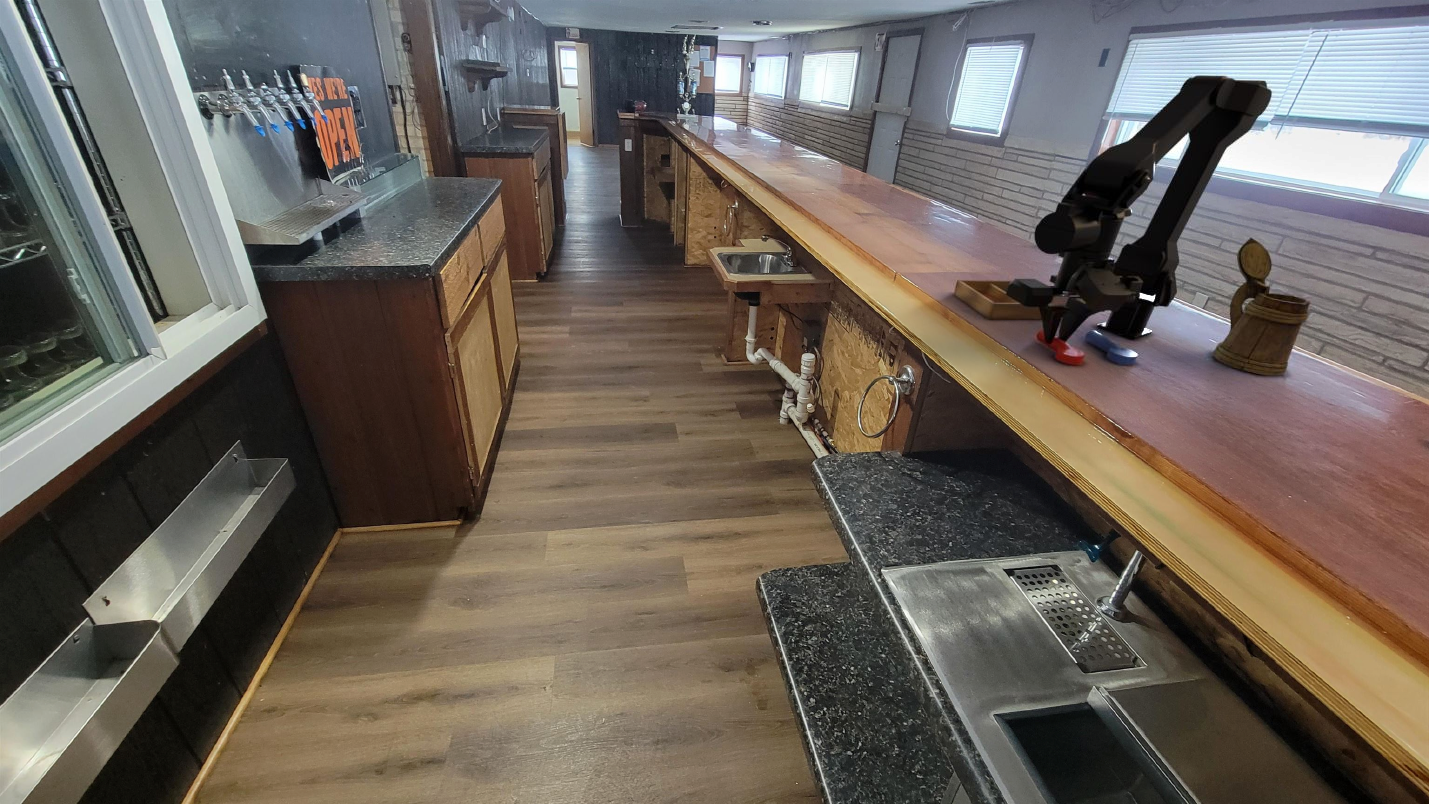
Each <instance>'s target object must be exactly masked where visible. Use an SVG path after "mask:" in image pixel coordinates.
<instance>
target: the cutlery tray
mask: <svg viewBox="0 0 1429 804" xmlns="http://www.w3.org/2000/svg"><path fill="white" fill-rule="evenodd" d="M1012 281H1013V280H1010V279H1009V280H1007V279H1006V280H1005V279H1004V280H1001V279H999V280H998V279H997V280H995V279H994V280H993V279H992V280H991V279H989V280H988V279H985V280H984V279H956V284H955V287H954V291H953V295H954V296H955V297H957V298H958V299H960V300H961V301H962V302H964V303H965V304H967V305H968V306H969V307H971V308H972V309H974V310H975V311H976V312H977V313H979V314H981V315H982V316H983V317H985V318H986V319H987V320H1042V319H1041V315H1040V311H1039V307H1027V306H1023V305H1022V304H1020V303H1018V302H1017V301H1015V300H1013V299H1012V298H1010V297H1009V296H1007V295H1006V292H1007V288H1008V285H1009V284H1010V282H1012Z"/></svg>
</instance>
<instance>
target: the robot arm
mask: <svg viewBox="0 0 1429 804" xmlns="http://www.w3.org/2000/svg"><path fill="white" fill-rule="evenodd" d="M1272 93H1273V91H1272V89H1271V88H1268V83H1267V81H1266V80H1255V79H1235V78H1233V77H1229V76H1227V75H1199V74H1198V75H1195V76H1193V77H1189V78H1187V79H1186V80H1185V81H1184V82H1183V83H1182V86H1181V87H1180V90H1179V92H1177V94H1176V95H1175V96H1174V97H1173V98H1172V99H1170V101H1168V102H1167V103H1166V104H1165V106H1163V107H1162V108H1161V109H1160V110H1158V112H1157V113H1156V114H1155V115H1154V116H1153V117H1152V118H1151V119H1150V120H1149V121H1148V122H1147V123H1146V124H1144V126H1143V127H1142V128H1141V129H1139V130H1138V131H1137V132H1136V133H1135V134H1134V135H1133V136H1132V137H1131V138H1129V139H1128V140H1126V141H1124V142H1121V143H1118V144H1116V145H1115V144H1114V145H1113V146H1110V147H1108V148H1106V149H1105V150H1104V151H1103V152H1102V153H1100V154H1099V155H1097V156H1096V157H1095V158H1093V159H1092V160H1091V161H1090V163H1089V164H1087V166H1086V167H1085V168H1084V169H1083V171H1082V172H1081V173H1080V175H1079V176H1078V177H1077V179H1076V180H1075V181H1074V183H1073V184H1072V185H1071V187H1070V188H1069V190H1068V191H1066V194H1065V195H1064V196H1063V197H1062V199H1061V200H1060V202H1058V203H1057V205H1056V207H1055V211H1053V212H1051V213H1048V214H1046V215H1045V216H1043V218H1042V219H1040V221H1039V223H1038V224H1037V225H1036V226H1035V229H1034V233H1033V234H1034V235H1033V236H1034V242H1035V245H1036V247H1037V248H1038V249H1039V250H1040V251H1041V252H1042V253H1044V254H1047V255H1057V254H1058V255H1057V256H1058V257H1060V258H1062V260H1061V263H1060V267H1059V269H1058V272H1057V274H1051V275H1050V278H1049V282H1050V283H1052V284H1054V285H1048V284H1045V283H1044V282H1042V281H1040V280H1038V279H1036V278H1014V279H1013V280H1011V281H1012V282H1010V284H1009V285H1008V288H1007V292H1006V295H1007V296H1009V297H1010V298H1012V299H1013V300H1015V301H1017V302H1018V303H1020V304H1022V305H1023V306H1027V307H1039V311H1040V315H1041V319H1040V320H1041V324H1042V325H1041V326H1042V330H1043V332H1044V339H1045V342H1046V343H1047V344H1051V343H1052V341H1053V339H1054V337H1055V336H1057V331H1058V337H1057V338H1059V339H1061V340H1062V341H1064V342H1065V343H1067V341H1068V340H1070V338H1071V337H1072V335H1074V333H1075V332H1076V331H1077V330H1078V329H1079V328H1080V326H1081V325H1082V324H1084V322H1085V321H1086V320H1087V319H1088V318H1090V317H1091V316H1093V315H1096V314H1098V313H1104V312H1106V311H1107V312H1108V311H1109V312H1110V314H1109V316H1108V319H1107V320H1106V321H1103V322H1099V323H1097V325H1096V328H1099V329H1102V330H1105V331H1108V332H1111V333H1114V334H1117V335H1120V336H1123V337H1125V338H1129V339H1132V340H1135V339H1139V338H1141V337H1145V336H1147V335H1150V334H1153V333H1152V332H1153V330H1151V329H1148V328H1147V325H1148V323H1149V320H1150V318H1151V316H1152V314H1153V312H1154V309H1155V308H1159V307H1164V308H1168V307H1169V306H1170V304H1171V303H1172V301H1174V299H1175V297H1176V295H1177V294H1178V293H1177V292H1178V286H1177V278H1176V277H1177V276H1176V271H1177V268H1178V266H1179V265H1180V256H1179V249H1178V242H1179V239H1180V238H1181V236H1182V234H1183V232H1184V230H1185V228H1186V226H1187V224H1188V222H1189V220H1190V218H1191V217H1192V215H1193V212H1194V211H1195V209H1196V207H1197V205H1198V203H1199V201H1200V199H1201V197H1202V196H1203V194H1204V192H1205V190H1206V188H1207V187H1208V185H1209V182H1210V180H1211V179H1212V177H1213V175H1214V174H1215V171H1216V169H1217V167H1218V165H1219V163H1220V161H1221V159H1222V158H1223V156H1224V154H1225V152H1226V150H1227V149H1228V148H1229V147H1231V145H1233V144H1234V143H1236V142H1237V141H1238V140H1239V139H1241V138H1242V137H1244V135H1246V134H1247V133H1249V132H1250V131H1251V130H1252V128H1253V126H1254V125H1255V123H1256V121H1257V119H1258V118H1259V117H1260V116H1261V115H1263V114H1264V112H1265V111H1266V110H1267V108H1268V106H1269V105H1270V103H1271V99H1272V96H1273V94H1272ZM1187 135H1188V139H1189V142H1188V144H1187V146H1186V148H1185V150H1184V152H1183V155H1182V156H1181V159H1180V161H1179V162H1178V164H1177V166H1176V169H1175V170H1174V173H1173V174H1172V176H1171V179H1170V180H1169V183H1168V185H1167V186H1166V188H1165V190H1164V192H1163V194H1162V196H1161V198H1160V200H1159V202H1158V205H1157V206H1156V208H1155V211H1154V213H1153V214H1152V216H1151V218H1150V220H1149V223H1148V224H1147V226H1146V228H1145V230H1144V233H1143V234H1142V236H1140V237H1139V238H1137V239H1136V240H1134V242H1132V243H1126V244H1125V245H1124V246H1122V248H1121V250H1120V253H1119V255H1118V257H1117V259H1114V258H1112V257H1110V256H1111V253H1112V250H1113V247H1114V246H1115V243H1116V241H1117V237H1118V235H1119V233H1120V231H1121V227H1122V225H1123V222H1124V219H1125V218H1127V217H1128V218H1129V217H1131V216H1132V215H1133V210H1132V208H1131V206H1132V205H1133V204H1134V203H1135V202H1136V201H1137V200H1138V199H1139V198H1140V197H1141V196H1142V195H1143V194H1144V193H1145V192H1146V191H1147V190H1148V188H1149V186H1150V185H1151V183H1152V182H1153V181H1154V180H1155V173H1156V172H1155V171H1156V166H1157V165H1158V164H1159V163H1160V162H1161V160H1162V159H1163V158H1164V157H1165V156H1166V155H1167V154H1168V153H1169V152H1170V151H1171V150H1173V148H1175V146H1176V145H1177V144H1179V142H1181V140H1183V139H1184V138H1185V136H1187Z"/></svg>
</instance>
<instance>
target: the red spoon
mask: <svg viewBox="0 0 1429 804" xmlns="http://www.w3.org/2000/svg"><path fill="white" fill-rule="evenodd" d="M1035 337H1036V340H1037V341H1038V342H1039V343H1041V344H1043V345H1044V346H1046V347H1047V348H1048V349H1050V350H1052V351H1053V352H1055V354H1054V358H1055V359H1056V360H1057V361H1059V362H1061V363H1063V364H1067V365H1073V366H1078V365H1082V364H1083V361H1084V359H1085V356H1086V353H1085V352H1083V351H1082V350H1080V349H1077V348H1074V347H1071V346H1070V345H1069V344H1068V343H1067V342H1064V341H1062V340H1061V339H1059V338H1058V337H1057V335H1055V337H1054V339H1053V341H1052V343H1051V344H1047V343H1046V342H1045V339H1044V332H1043V329H1040V330H1039V331H1037V333H1036V335H1035Z"/></svg>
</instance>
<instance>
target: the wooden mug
mask: <svg viewBox="0 0 1429 804" xmlns="http://www.w3.org/2000/svg"><path fill="white" fill-rule="evenodd" d="M1236 260H1237V261H1236V262H1237V266H1238V269H1239V272H1240V274H1241V275H1242V276H1243V278H1244V279H1245V282H1244V283H1242V284H1241V285H1240V286H1239V287H1238V288H1237V289H1236V291H1235V292H1234V294H1233V295H1232V297H1231V301H1230V305H1229V320H1230V325H1229V326H1230V329H1229V331H1228V334H1226V335H1227V336H1225V338H1224V339H1223V341H1220V342H1218V343H1217V345H1216V346H1215V349H1214V350H1213V353H1212V355H1213V358H1214V359H1216V360H1217V361H1218V362H1220V363H1221V364H1224V365H1225V366H1228V367H1230V368H1233V369H1237V370H1240V371H1244V372H1248V373H1251V374H1256V375H1262V376H1282V375H1284V374H1285V373H1286V372H1287V369H1288V365H1289V362H1288V361H1289V359H1290V356H1291V354H1292V351H1293V349H1294V346H1295V343H1296V341H1297V338H1298V335H1299V333H1300V330H1301V328H1302V326H1303V323H1305V322H1307V319H1308V316H1309V313H1310V312H1309V307H1310V304H1311V300H1309V299H1307V298H1304V297H1301V296H1297V295H1293V294H1287V293H1286V294H1285V293H1277V292H1270V290H1271V287H1270V286H1269V285H1267V283H1266V279H1267V278H1268V277H1269V275H1270V273H1271V272H1272V266H1273V264H1272V258H1271V255H1270V253H1269V251H1268V250H1267V249H1266V247H1265V246H1264V245H1263V244H1262V243H1260V242H1259V241H1258V240H1256V239H1255V238H1253V237H1249V239H1247V240H1246V241H1245V242H1244V243H1243V244H1242V245H1241V246H1240V248H1239V249H1238V251H1237V254H1236ZM1249 299H1251V300H1250V301H1249V302H1247V303H1246V304H1245V306H1244V307H1243V305H1244V303H1245V302H1246V301H1247V300H1249Z"/></svg>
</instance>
